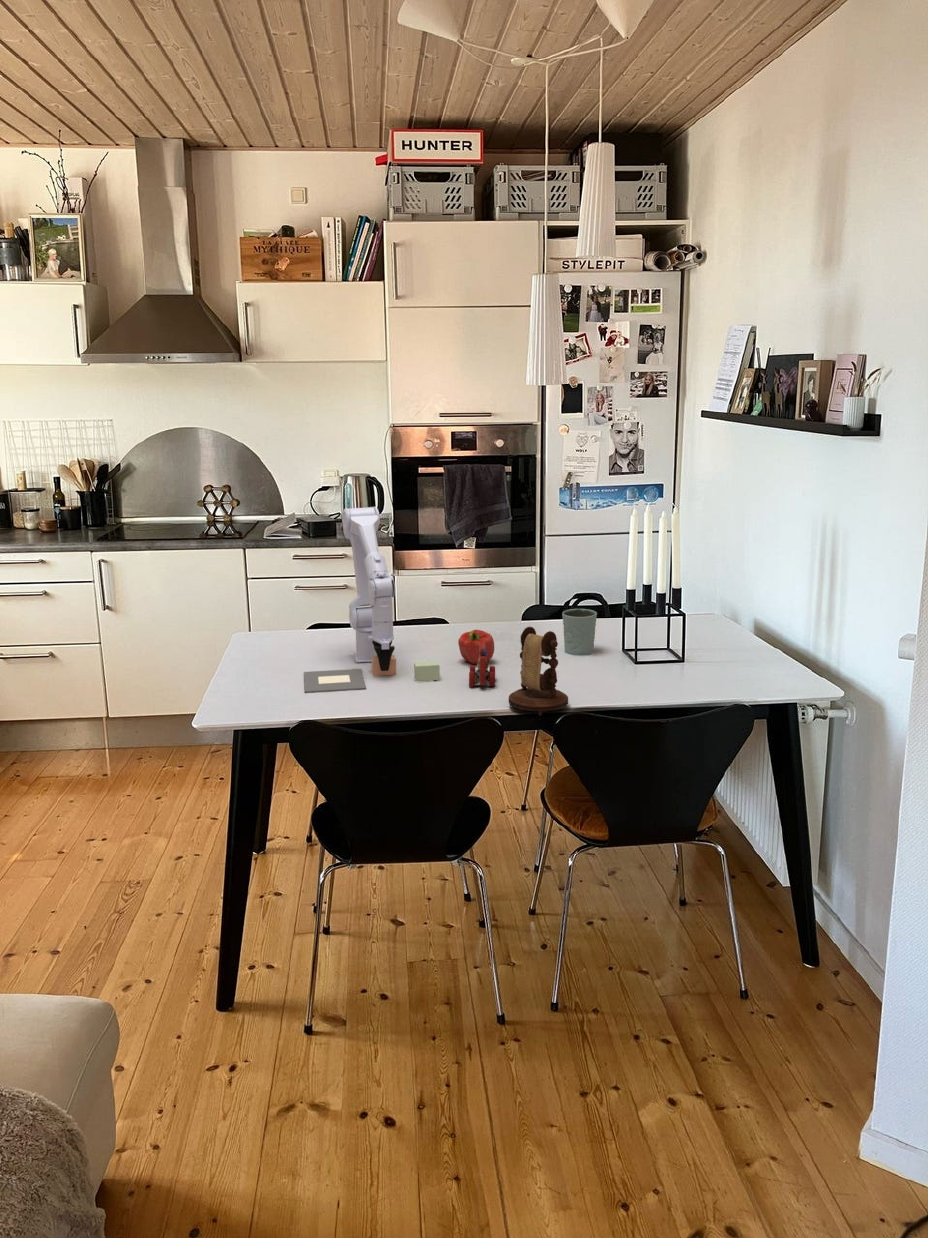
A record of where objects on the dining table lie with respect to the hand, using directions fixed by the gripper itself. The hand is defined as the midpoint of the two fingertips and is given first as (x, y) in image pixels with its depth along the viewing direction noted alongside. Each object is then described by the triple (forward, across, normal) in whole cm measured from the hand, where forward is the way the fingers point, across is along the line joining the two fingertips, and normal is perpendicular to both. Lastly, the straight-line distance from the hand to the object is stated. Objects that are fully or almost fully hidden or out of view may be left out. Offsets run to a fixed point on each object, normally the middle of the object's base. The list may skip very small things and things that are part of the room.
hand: (383, 668), depth 276 cm
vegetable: (+2, -5, +27) cm, 28 cm away
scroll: (+2, +37, +35) cm, 51 cm away
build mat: (+1, +5, -14) cm, 15 cm away
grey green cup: (+2, -10, +59) cm, 60 cm away
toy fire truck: (+2, +15, +25) cm, 29 cm away
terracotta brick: (+1, 0, 0) cm, 1 cm away
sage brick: (+2, +8, +11) cm, 14 cm away
